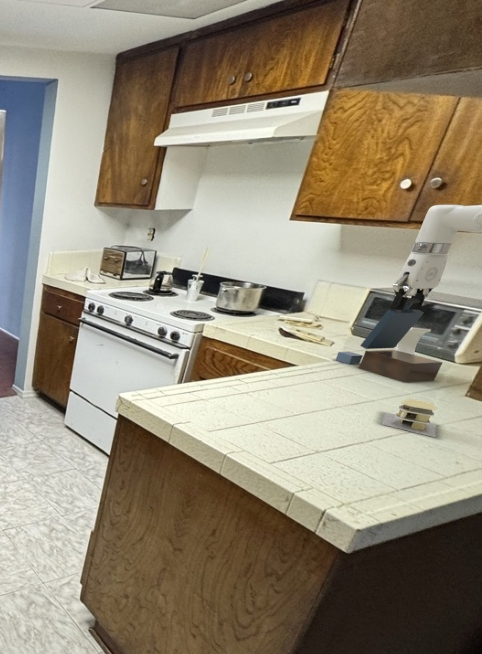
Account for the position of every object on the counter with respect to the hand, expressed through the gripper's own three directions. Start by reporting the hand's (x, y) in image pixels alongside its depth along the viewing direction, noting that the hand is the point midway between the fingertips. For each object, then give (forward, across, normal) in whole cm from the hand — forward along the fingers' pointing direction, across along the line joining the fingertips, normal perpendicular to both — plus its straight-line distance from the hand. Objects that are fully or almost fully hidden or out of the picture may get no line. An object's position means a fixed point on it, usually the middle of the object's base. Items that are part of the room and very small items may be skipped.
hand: (405, 308), depth 146 cm
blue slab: (+5, 0, 0) cm, 5 cm away
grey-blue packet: (+19, -2, +10) cm, 21 cm away
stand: (+20, 0, -5) cm, 21 cm away
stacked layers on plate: (+20, -40, -36) cm, 58 cm away
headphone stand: (+20, +20, +7) cm, 29 cm away
